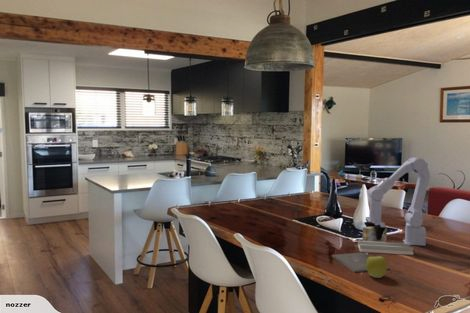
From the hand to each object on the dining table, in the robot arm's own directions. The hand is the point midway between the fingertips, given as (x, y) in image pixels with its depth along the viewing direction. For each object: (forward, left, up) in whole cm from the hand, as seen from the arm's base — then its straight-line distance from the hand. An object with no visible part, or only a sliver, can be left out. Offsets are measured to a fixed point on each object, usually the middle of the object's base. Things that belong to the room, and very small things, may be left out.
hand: (374, 237), depth 212 cm
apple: (+6, +49, -3) cm, 49 cm away
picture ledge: (-3, +13, -2) cm, 14 cm away
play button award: (+11, +34, -3) cm, 36 cm away
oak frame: (0, 0, -2) cm, 2 cm away
